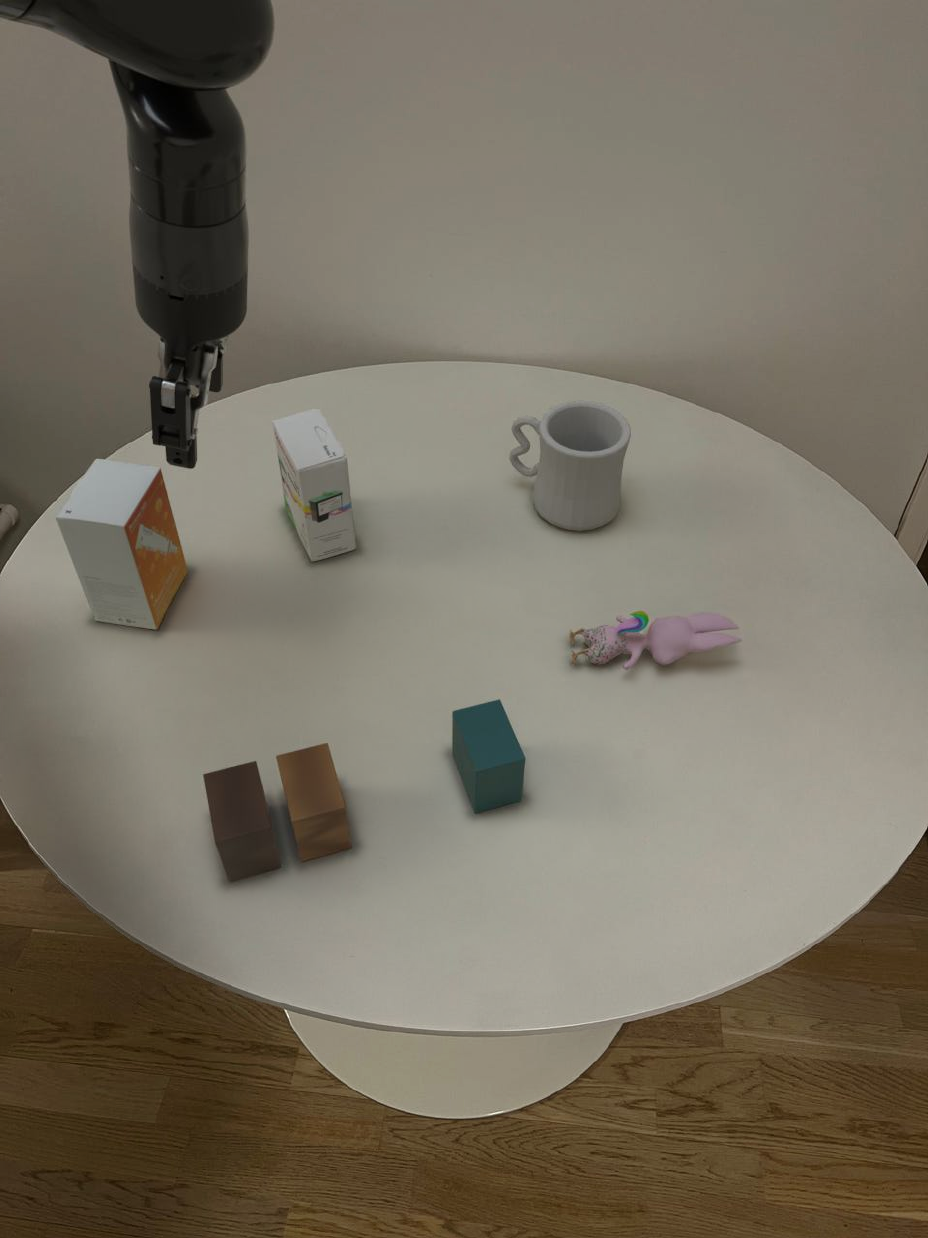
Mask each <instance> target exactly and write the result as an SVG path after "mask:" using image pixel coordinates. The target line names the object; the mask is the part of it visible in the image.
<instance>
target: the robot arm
mask: <svg viewBox="0 0 928 1238" xmlns="http://www.w3.org/2000/svg"><path fill="white" fill-rule="evenodd" d="M0 19H3V20H7V21H11V22H15V23H19V24H24V25H28V26H34V27H37V28H42V29H44V30H47V31H49V32H51V33H54V34H56V35H58V36H61V37H63V38H65V39H66V40H69V41H70V42H73V43H74V44H76V45H78V46H80V47H83V48H84V49H87V50H88V51H90V52H92V53H94V54H97V55H98V56H101V57H103V58H106V59H107V61H108V65H109V69H110V72H111V77H112V81H113V84H114V87H115V90H116V93H117V96H118V99H119V102H120V106H121V109H122V114H123V117H124V121H125V122H124V123H125V130H126V131H125V132H126V156H127V157H126V158H127V166H128V167H127V169H128V177H129V178H128V180H129V189H130V190H129V195H130V197H129V198H130V199H129V209H128V210H129V211H128V227H129V228H128V229H129V239H130V240H129V241H130V242H129V243H130V253H131V263H132V276H133V287H134V300H135V306H136V311H137V312H138V315H139V317H140V319H141V320H142V321H143V322H144V324H145V325H146V326H147V327H149V329H151V330H152V331H153V332H155V333H156V334H157V335H158V336H159V337H160V338H159V342H158V349H157V350H158V351H157V358H158V360H159V362H160V363H159V372H158V376H157V375H153V376H152V377H151V379H150V381H149V383H148V388H149V401H150V402H149V403H150V418H151V440H152V445H154V446H159V447H165V460H166V463H168V464H169V465H170V466H174V467H179V468H184V469H189V470H192V469H194V468H196V465H197V462H198V432H199V428H198V423H199V416H200V409H203V408H204V407H206V406H207V404H208V401H209V394H210V392H211V393H220V392H221V391H222V388H223V385H224V355H225V352H226V350H228V338H229V336H230V335H232V334H233V333H235V332H236V331H237V330H238V329H239V328H240V327H241V325H242V324H243V322H244V320H245V319H246V316H247V311H248V284H249V283H248V281H249V280H248V279H249V275H248V274H249V272H248V271H249V245H250V244H249V243H250V239H249V238H250V235H249V233H250V232H249V219H248V211H247V203H246V202H247V199H246V198H247V197H246V196H247V195H246V193H247V192H246V190H247V158H248V157H247V137H246V128H245V123H244V120H243V117H242V115H241V113H240V111H239V109H238V107H237V105H236V104H235V102H234V101H233V99H232V98H231V96H230V94H229V92H228V89H230V88H233V87H236V86H238V85H240V84H242V83H244V82H246V81H247V80H248V79H250V78H251V77H253V76H254V74H256V73H257V72H258V70H259V69H260V68H261V67H262V66H263V65H264V63H265V62H266V60H267V58H268V56H269V53H270V51H271V49H272V46H273V41H274V38H275V37H274V36H275V30H276V29H275V26H276V24H275V23H276V22H275V12H274V7H273V2H272V0H0ZM191 386H194V387H195V388H197V389H198V393H197V394H193V393H192V389H191Z"/></svg>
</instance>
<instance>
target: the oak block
mask: <svg viewBox="0 0 928 1238" xmlns="http://www.w3.org/2000/svg"><path fill="white" fill-rule="evenodd" d="M330 749H331V748H330V747H329V743H328V742H325V743H320V744H317V745H313V746H309V747H306V748H302V749H301V748H300V749H297V750H293V751H289V752H286V753H281V754H278V755H277V754H276V757H275V759H276V761H277V767H278V772H279V776H280V780H281V784H282V789H283V793H284V797H285V802H286V805H287V806H286V807H287V810H288V815H289V819H290V823H291V827H292V831H293V836H294V839H295V844H296V848H297V853H298V856H299V857H298V858H299V861H300V862H301V863H303V862H306V861H310V860H314V859H317V858H321V857H325V856H328V855H331V854H335V853H340V852H343V851H345V850H350V849H352V841H351V834H350V833H351V832H350V827H349V820H348V814H347V806H346V803H345V799H344V796H343V792H342V789H341V788H342V787H341V786H340V785H341V784H340V782H339V779H338V778H339V777H338V775H337V774H338V773H337V771H336V767H335V764H334V760H333V757H332V753H331V750H330Z"/></svg>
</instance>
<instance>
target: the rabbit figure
mask: <svg viewBox="0 0 928 1238" xmlns="http://www.w3.org/2000/svg"><path fill="white" fill-rule="evenodd" d="M629 616H632V617H630V618H628V619H627V618H625V617H624V616H622V615H621V614H618V615H616V617H615V619H616V621H617V622H619V624H618V625H617V626H615V627H614V626H612V625H608V624H607V625H606V624H603V625H599V626H597V627H594V628H583V627H581V628H579V629H578V630H576V631H574V632H573V630H571V629H569V632H570V633H569V639H570V643H571V644H570V645H571V646H572V645H573V644H574V641H575V637H576V636H577V635H582V636H583V638H584V640H585V643H586V645H587V646H588V648H583V649H582V650H580V651H578V652H575V651H574V650H571V653H572V654H571V659H572V663H573V664H572V666H576V664H577V659H578V656H580V655H585V656H586V657H587V659H588V660H589V661H590V663H592V665H593V664H594V665H603V664H606V663H608V662H609V661H612V660H613V659H614V658H616V657H617V656H619V655H621V654H626V655H631V657H630V659H629V660H628V661H626V662H625V663H624V664H623V669H624V670H629V669H631V668H632V666H634V665H635V664H636V663H637V661H638V660H639V658H640V657H641V655H642V652H643V649H647V651H648V652H649V653H650V654H651V655H652V658H653V660H654V661H655V662H656V663H657V664H659V665H662V666H667V665H669V664H672V663H674V662H675V661H678V660H679V659H681V658H683V657H684V656H686V655H687V654H690V653H699V652H700V653H701V652H705V651H709V650H713V649H717V648H720V647H724V646H729V645H732V644H737V643H740V642H742V639H743V638H741V637H739V636H736V635H732V634H729V633H724V632H719V631H729V630H738V629H739V628H740V627H739V625H738V624H737V623H735V622H734V621H732V620H731V618H729V617H726V616H724V615H722V614H720V613H716V612H714V613H713V612H697V613H694V614H691V615H689V616H688V617H683V616H678V615H668V616H662V617H657V618H655V619H654V620H653V621H651V622H650V624H649V615H648V614H647V613H646V612H645V611H644V610H636V611H634V612H631V613H630V614H629ZM648 625H649V627H648V629H647V632H646V633H645V634H642V633H640V632H641V631H643V630H644V629H646V627H647V626H648Z"/></svg>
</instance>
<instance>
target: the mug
mask: <svg viewBox="0 0 928 1238" xmlns="http://www.w3.org/2000/svg"><path fill="white" fill-rule="evenodd" d="M526 425H527V426H530V427H531V428H533V430H534V432H535V433H537V435H539V459H538V462H537V463H535V464H534V466H533V467H528V466H526V465H524V463H523V462H522V461H521V460H520V458H519V457H520V456H523V455H525V454H527V453H528V452H529V451H530V449H531V442H530V441H529V439H528V438H527V436H526V435H525V434H524V432H523V431H522V429H521V427H523V426H526ZM631 430H632V427H631V426H630V423H629V420H628V419H627V418H626V417H625V416H624V414H622V412H620V411H618V410H617V409H615V408H614V407H612V406H610V405H607V404H605V403H601V402H597V401H593V400H572V401H571V400H570V401H565V402H561V403H559V404H557V405H555V406H553V407H551V408H549V410H547V411H546V412H545V413H544V414H543V415H542V417H541V419H540V420H539V419H537V418H536V417H535V416H531V415H523V416H520V417H517V418H516V419H514V420H513V421H512V426H511V432H512V435H513V437H514V438H515V440H516V441H517V443H518V444H519V446H517V447H514V448H512V449H511V450H510V451H509V457H508V459H509V462H510V464H511V465H512V467H513V468H514V469H515V470H516V471H517V472H518V473H519V474H520V475H522V476H525V477H530V478H531V477H534V476H535V480H534V485H533V491H532V502H533V505H534V508H535V510H536V512H537V513H538V514H539V515H540V517H542V518H543V520H546V521H547V522H548V523H550V524H552V525H553V526H555V527H558V528H560V529H564V530H569V531H577V532H582V531H583V532H584V531H590V530H594V529H598V528H601V527H603V526H605V525H606V524H608V523H610V522H611V521H612V520H613V519H614V518H615V517H616V516H617V514H618V512H619V509H620V506H621V504H622V477H623V468H624V461H625V457H626V453H627V450H628V447H629V444H630V441H631V436H632V431H631Z"/></svg>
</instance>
